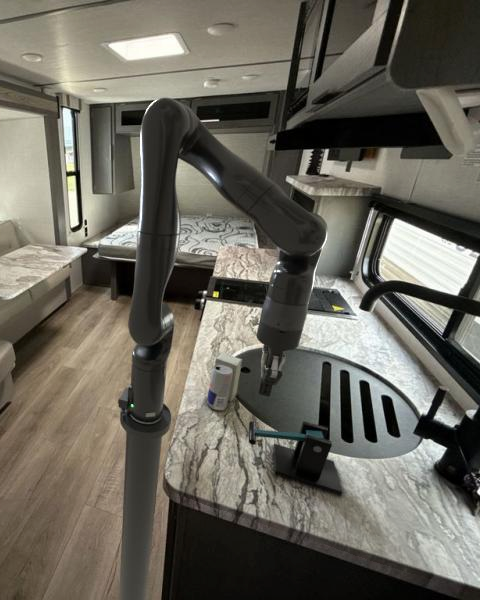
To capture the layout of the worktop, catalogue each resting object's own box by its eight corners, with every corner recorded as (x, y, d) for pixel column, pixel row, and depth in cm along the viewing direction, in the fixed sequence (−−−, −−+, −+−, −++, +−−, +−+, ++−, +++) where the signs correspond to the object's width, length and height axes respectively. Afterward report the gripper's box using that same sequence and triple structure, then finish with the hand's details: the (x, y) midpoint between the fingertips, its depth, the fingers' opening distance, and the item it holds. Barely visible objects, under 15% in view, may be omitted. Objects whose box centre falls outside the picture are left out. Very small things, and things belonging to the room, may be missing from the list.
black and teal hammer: (249, 446, 68) (248, 437, 67) (249, 427, 73) (248, 419, 72) (325, 455, 62) (325, 445, 61) (320, 434, 67) (319, 424, 66)
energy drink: (209, 396, 90) (214, 361, 86) (228, 402, 88) (235, 366, 83) (204, 406, 86) (210, 370, 82) (224, 413, 84) (231, 377, 79)
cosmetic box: (236, 394, 91) (243, 359, 86) (231, 402, 88) (238, 366, 83) (215, 385, 95) (221, 351, 90) (209, 392, 92) (215, 357, 87)
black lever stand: (275, 474, 66) (286, 436, 62) (273, 447, 73) (283, 411, 69) (340, 496, 62) (357, 456, 58) (332, 465, 69) (346, 427, 65)
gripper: (259, 305, 66) (245, 372, 73) (261, 330, 55) (244, 408, 61) (299, 311, 63) (281, 380, 70) (309, 339, 52) (286, 419, 59)
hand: (263, 393), depth 66 cm, fingers closed
